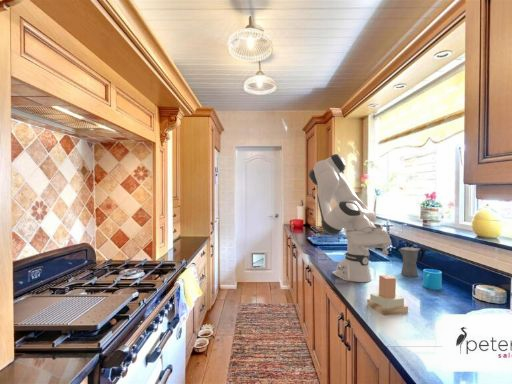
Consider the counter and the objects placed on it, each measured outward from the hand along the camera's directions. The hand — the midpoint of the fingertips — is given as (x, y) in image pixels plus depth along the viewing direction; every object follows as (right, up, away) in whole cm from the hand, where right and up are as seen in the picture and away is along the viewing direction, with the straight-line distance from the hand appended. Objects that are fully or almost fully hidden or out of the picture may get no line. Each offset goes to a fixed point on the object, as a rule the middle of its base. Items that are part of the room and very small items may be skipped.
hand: (377, 254), depth 130 cm
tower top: (+1, -18, -8) cm, 20 cm away
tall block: (+1, -15, -8) cm, 17 cm away
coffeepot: (+38, -21, +44) cm, 62 cm away
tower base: (+1, -21, -8) cm, 23 cm away
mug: (+36, -21, +20) cm, 46 cm away
